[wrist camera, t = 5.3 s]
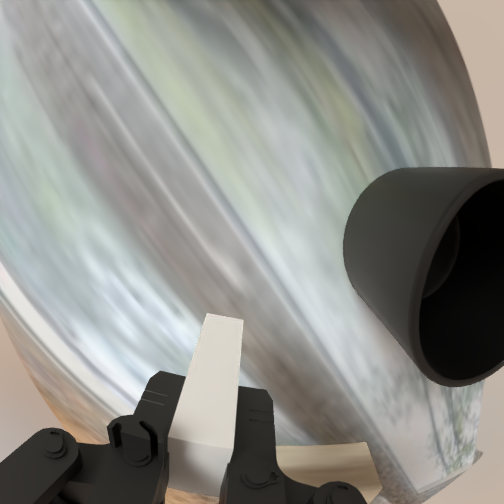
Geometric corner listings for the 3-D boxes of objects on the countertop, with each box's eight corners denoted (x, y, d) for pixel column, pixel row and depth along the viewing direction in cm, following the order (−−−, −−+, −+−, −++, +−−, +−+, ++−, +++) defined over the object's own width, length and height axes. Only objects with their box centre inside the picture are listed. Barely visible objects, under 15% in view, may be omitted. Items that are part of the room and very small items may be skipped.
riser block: (233, 441, 22) (229, 496, 16) (365, 439, 22) (382, 487, 16) (227, 499, 25) (224, 541, 19) (331, 498, 25) (338, 537, 19)
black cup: (487, 273, 18) (566, 317, 9) (355, 328, 19) (410, 419, 10) (473, 150, 16) (570, 150, 7) (323, 187, 17) (392, 199, 8)
